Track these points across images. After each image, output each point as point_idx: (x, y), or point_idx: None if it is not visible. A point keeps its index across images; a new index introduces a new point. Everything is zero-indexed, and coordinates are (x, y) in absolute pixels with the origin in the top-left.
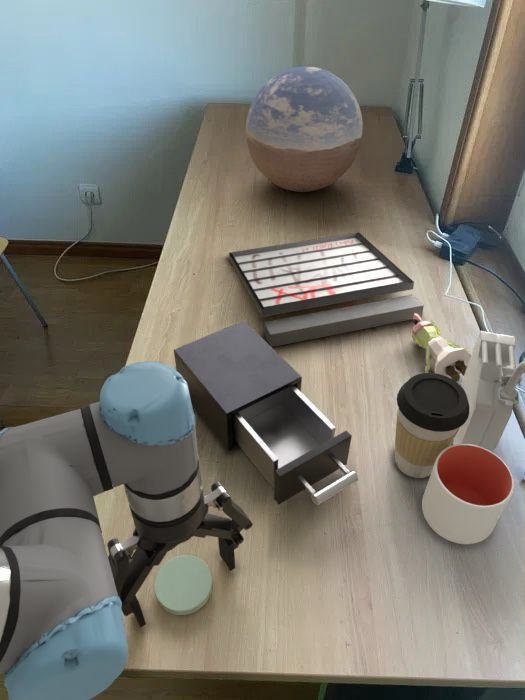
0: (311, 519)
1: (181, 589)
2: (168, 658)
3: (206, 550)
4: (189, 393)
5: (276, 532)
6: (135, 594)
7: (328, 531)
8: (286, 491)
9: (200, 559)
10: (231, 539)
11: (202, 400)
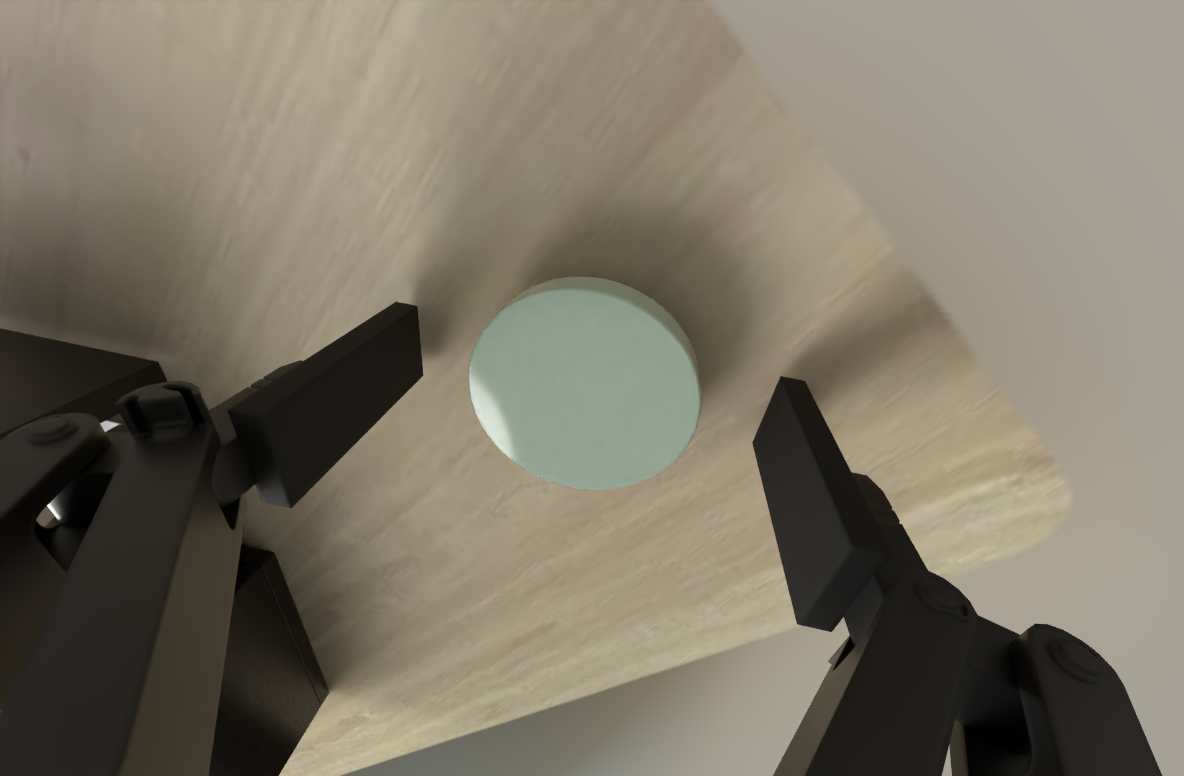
0: (71, 240)
1: (604, 387)
2: (821, 211)
3: (458, 412)
4: (295, 697)
5: (214, 295)
6: (883, 625)
7: (8, 150)
8: (56, 386)
9: (478, 417)
10: (204, 440)
11: (242, 709)
